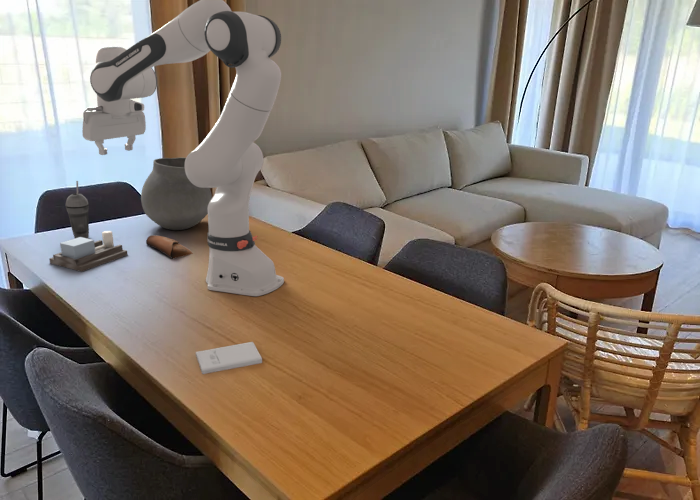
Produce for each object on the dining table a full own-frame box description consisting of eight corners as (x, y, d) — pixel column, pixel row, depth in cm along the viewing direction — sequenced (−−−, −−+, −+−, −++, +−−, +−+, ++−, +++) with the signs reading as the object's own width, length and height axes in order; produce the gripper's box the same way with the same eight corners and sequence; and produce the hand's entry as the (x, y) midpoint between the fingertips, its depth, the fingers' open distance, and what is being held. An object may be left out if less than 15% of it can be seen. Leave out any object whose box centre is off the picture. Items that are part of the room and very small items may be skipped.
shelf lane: (127, 255, 179) (126, 246, 178) (81, 271, 165) (80, 262, 164) (97, 247, 185) (95, 239, 184) (50, 263, 171) (48, 253, 170)
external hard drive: (262, 365, 119) (202, 376, 114) (252, 347, 126) (195, 357, 121) (262, 358, 118) (201, 369, 114) (252, 340, 126) (195, 350, 121)
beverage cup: (78, 234, 199) (70, 178, 192) (97, 235, 198) (90, 179, 191) (65, 240, 192) (56, 182, 185) (85, 241, 191) (77, 183, 184)
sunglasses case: (195, 253, 182) (184, 238, 178) (179, 268, 179) (167, 253, 175) (169, 240, 194) (158, 226, 190) (153, 253, 192) (142, 239, 188)
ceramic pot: (175, 241, 193) (169, 169, 185) (130, 228, 206) (122, 160, 198) (226, 225, 213) (223, 159, 205) (182, 214, 225) (177, 152, 217)
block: (119, 247, 181) (117, 232, 179) (76, 262, 167) (73, 246, 166) (106, 244, 184) (104, 229, 182) (62, 258, 170) (60, 243, 168)
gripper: (91, 109, 153) (94, 159, 158) (148, 104, 171) (149, 149, 176) (75, 105, 156) (78, 155, 161) (133, 101, 173) (135, 146, 178)
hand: (116, 152), depth 168 cm, fingers open, 8 cm apart
